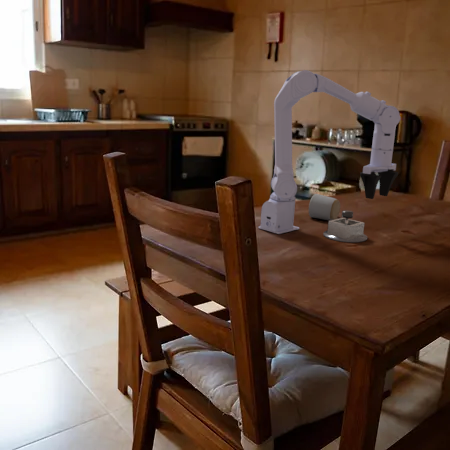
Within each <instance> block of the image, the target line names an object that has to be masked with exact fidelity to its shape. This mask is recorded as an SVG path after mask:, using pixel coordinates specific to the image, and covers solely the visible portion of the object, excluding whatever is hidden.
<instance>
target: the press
mask: <svg viewBox="0 0 450 450" xmlns="http://www.w3.org/2000/svg"><path fill="white" fill-rule="evenodd" d="M364 231H365V222H363V221H358V220H355V219H352V218H349V220H348V225H346V224H345V218H344V217H340V218H337V219H335V220H334V219H328V220H327V230H324V231H323V236H324V237H325V238H327V239H329V240H332V241H336V242H339V243H340V242H342V243H352V244H354V243H363V242H366V241H367V240H368V236H367V235H366V234H365V233H364Z"/></svg>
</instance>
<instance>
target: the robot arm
mask: <svg viewBox="0 0 450 450" xmlns="http://www.w3.org/2000/svg"><path fill="white" fill-rule="evenodd" d="M312 93H324V94H326V95H328V96H331V97H334V98H336V99H338V100H340V101H342V102H344V103H346V104H349V107H350V111H351V112H352V113H353V112H354V113H355V114H357V115H359V116H361V117H363V118H365V119H367V120H369V121H372V122H373V123H374V128H373V129H374V130H373V135H372V136H373V137H372V145H371V152H370V161H369V164H367V165H364V166H363V168H362V172H361V171H360V175H359V176H360V178H361V182H362V183H363V189H364V196H365V198H366V199H368V200H374V198H375V194H376V189H377V186H378V187H379V188H378V189H379V190H378V191H379V196H383V197H388V196H389V195H388V194H389V192H390V189H391V187H392V185H393V183H394V181H395V179H396V178H397V177H398V174H399V172H398V171H396V170H397V163H394V162H393V161H392V160H393V152H394V145H395V144H394V143H395V138H396V137H395V136H396V127H397V125H398V124H399V123H400V122H401V119H402V117H401V116H400V115H401V114H400V111H399V109H398V108H397V107H396V106H393V105H387V104H386V103H387V101H386V100H384V99H382V100H379V99H378V98H376V97H374V96H372V93H371V92H369V91H365V92H364V91H359V92H357V93H355V92H353V91H351V90H349V89H348V88H346V87H344V86H343V85H341V84H339V83H337V82H335V81H334V80H332V79H330V78H328V77H327V76H324V75H321V74H319V73H314V72H313V71H310V70H308V69H304V70H299V71H296V72H294V73H292V74H291V75H290V76H288V77H287V78H285V81H284V83H283V85H282V87H281V88H280V90H279V92H278V93H277V94H276V97H275V98H274V101H273V108H274V110H273V111H274V112H273V114H274V117H273V118H274V119H273V120H274V121H273V122H274V169H273V177H272V179H271V181H270V187H271V190H272V191H273V192H272V193H271V194H270V195H269V199H268V200H266V201H265V202H264V203H263V204H262V206H261V212H260V213H261V215H260V225H259V226H258V229H260V230H264V231H266V232H270V233H274V234H276V235H277V234H278V235H281V234H284V233H288V232H293V231H297V230H300V227H299V226H295V225H294V224H295V223H294V219H295V209H296V208H295V207H296V195H297V192H298V185H297V183H296V181H295V178H294V168H293V110H292V109H293V107H294V106H296V104H297V103H298V102H299V101H300V100H301V99H303V98H305V97H307V96H308V95H310V94H312ZM392 162H393V163H392ZM376 173H377V174H376ZM378 183H379V185H378Z"/></svg>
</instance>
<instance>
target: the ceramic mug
mask: <svg viewBox="0 0 450 450" xmlns="http://www.w3.org/2000/svg"><path fill="white" fill-rule="evenodd" d="M340 212H341V202H340V200H339V199H337V198H335V197H331V196H328V195H323V194H320V193H319V194H318V193H314V194H313V195H312V196H311V198H310V201H309V203H308V216H309V217H310V218H313V219H317V220H324V221H328V219H334V220H335V219H338V217H339V215H340Z"/></svg>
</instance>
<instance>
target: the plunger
mask: <svg viewBox="0 0 450 450" xmlns="http://www.w3.org/2000/svg"><path fill="white" fill-rule="evenodd" d="M341 218H345V224H346V225H348V220H349V219H352V218H354V211H353V210H347V209H346V210H342V211H341Z"/></svg>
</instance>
